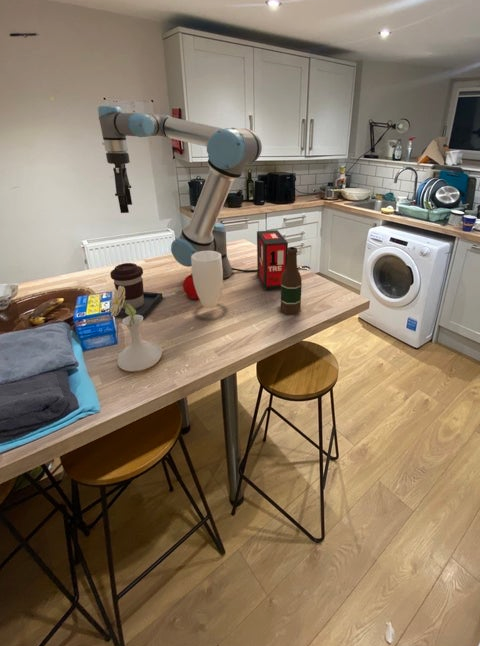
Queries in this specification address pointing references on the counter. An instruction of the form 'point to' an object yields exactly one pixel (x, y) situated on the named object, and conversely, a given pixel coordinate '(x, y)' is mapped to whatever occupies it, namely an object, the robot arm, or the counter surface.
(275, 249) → the cleaning product box
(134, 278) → the coffee cup
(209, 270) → the cup
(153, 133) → the robot arm
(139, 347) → the flower in vase
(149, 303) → the black square tray
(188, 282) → the fruit
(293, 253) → the beer bottle
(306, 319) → the counter surface
